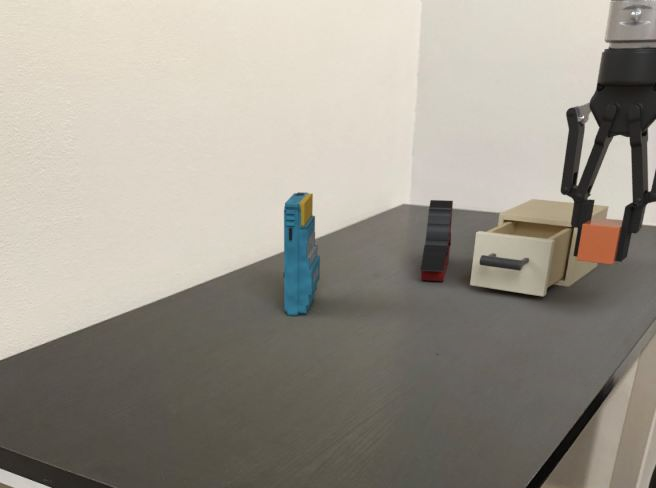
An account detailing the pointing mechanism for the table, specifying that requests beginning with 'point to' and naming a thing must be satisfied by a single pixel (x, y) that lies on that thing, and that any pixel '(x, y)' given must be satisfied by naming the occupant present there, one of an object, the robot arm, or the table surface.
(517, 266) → the drawer
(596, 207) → the cabinet
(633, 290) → the table surface
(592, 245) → the block
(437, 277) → the extruded letter emblem
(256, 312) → the table surface
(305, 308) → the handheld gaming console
